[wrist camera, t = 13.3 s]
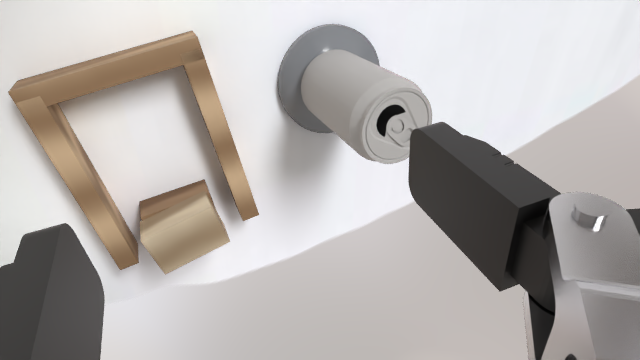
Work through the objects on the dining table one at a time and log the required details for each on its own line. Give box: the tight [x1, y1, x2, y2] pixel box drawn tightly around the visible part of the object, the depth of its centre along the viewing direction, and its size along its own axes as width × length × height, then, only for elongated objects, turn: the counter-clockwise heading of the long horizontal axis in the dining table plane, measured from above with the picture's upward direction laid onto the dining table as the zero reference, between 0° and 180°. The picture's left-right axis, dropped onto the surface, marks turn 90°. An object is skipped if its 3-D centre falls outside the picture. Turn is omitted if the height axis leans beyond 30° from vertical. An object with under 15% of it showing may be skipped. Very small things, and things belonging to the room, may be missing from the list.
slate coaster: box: [278, 24, 380, 133], centre depth 40 cm, size 10×10×1 cm
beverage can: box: [301, 49, 432, 164], centre depth 34 cm, size 6×6×12 cm
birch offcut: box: [140, 191, 230, 274], centre depth 37 cm, size 4×6×3 cm, turn 107°
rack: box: [8, 31, 259, 270], centre depth 35 cm, size 17×13×3 cm
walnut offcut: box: [140, 180, 215, 220], centre depth 39 cm, size 4×6×3 cm, turn 100°
